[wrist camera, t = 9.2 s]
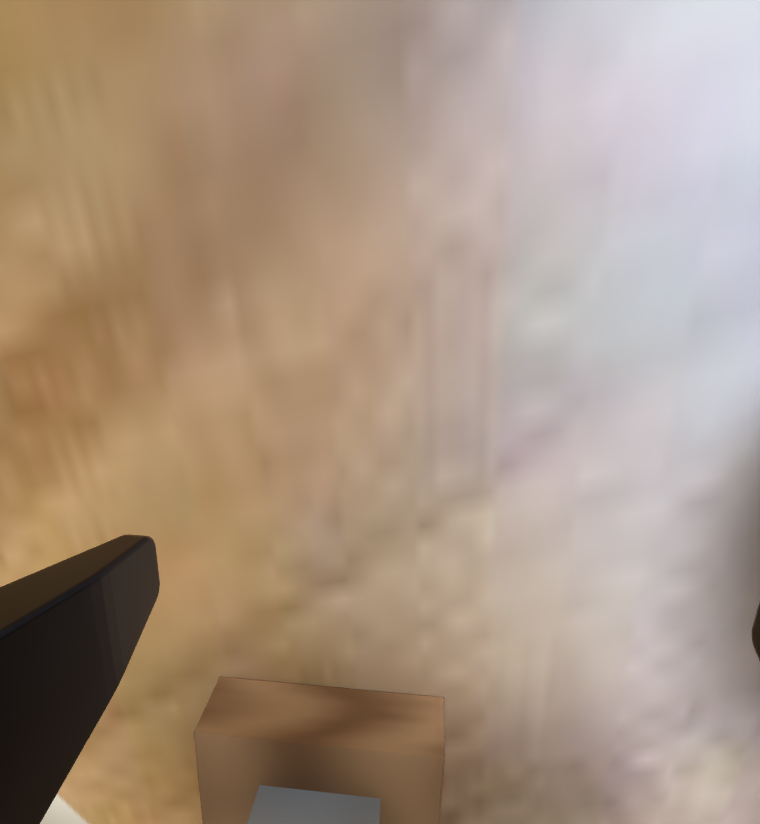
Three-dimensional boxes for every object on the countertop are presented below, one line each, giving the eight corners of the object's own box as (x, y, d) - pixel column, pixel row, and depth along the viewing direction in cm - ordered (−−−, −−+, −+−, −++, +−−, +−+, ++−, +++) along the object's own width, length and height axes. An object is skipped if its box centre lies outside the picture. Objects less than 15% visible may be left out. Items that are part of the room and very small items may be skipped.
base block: (443, 697, 26) (444, 757, 23) (431, 857, 29) (430, 927, 26) (219, 676, 27) (193, 732, 24) (232, 834, 30) (210, 900, 27)
